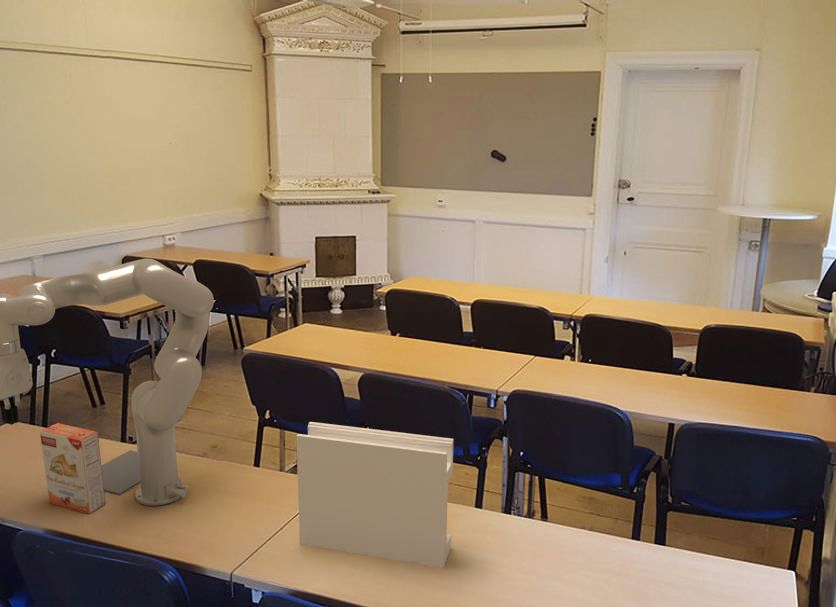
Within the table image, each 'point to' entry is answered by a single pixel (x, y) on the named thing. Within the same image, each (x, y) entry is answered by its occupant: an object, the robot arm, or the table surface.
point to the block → (374, 492)
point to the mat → (121, 473)
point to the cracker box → (73, 467)
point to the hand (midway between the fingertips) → (10, 422)
